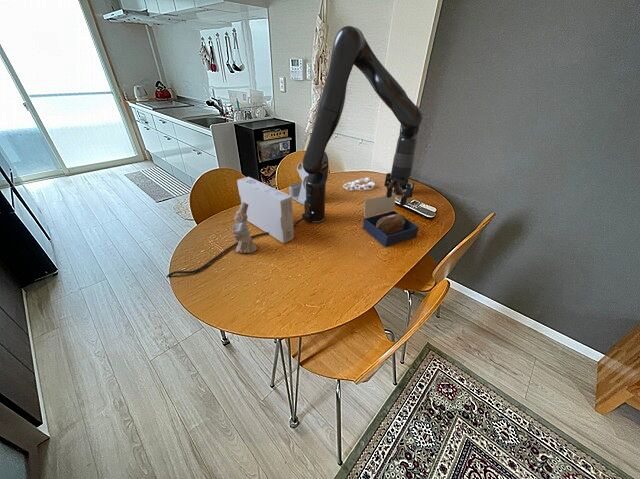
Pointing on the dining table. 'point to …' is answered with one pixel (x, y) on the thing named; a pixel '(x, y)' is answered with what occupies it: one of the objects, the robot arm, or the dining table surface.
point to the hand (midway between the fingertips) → (395, 201)
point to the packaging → (267, 208)
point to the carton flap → (379, 205)
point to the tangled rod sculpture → (357, 182)
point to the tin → (391, 223)
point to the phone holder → (299, 186)
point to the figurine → (242, 231)
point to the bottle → (397, 191)
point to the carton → (393, 238)
